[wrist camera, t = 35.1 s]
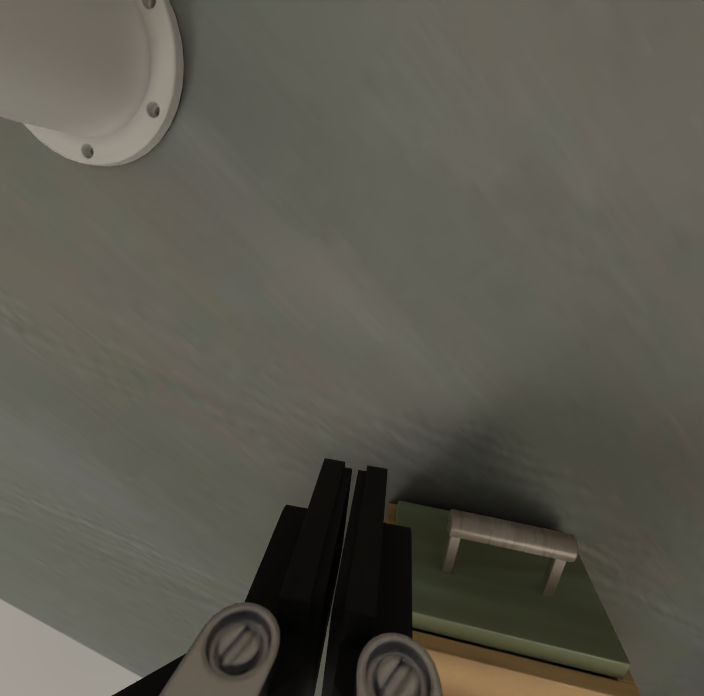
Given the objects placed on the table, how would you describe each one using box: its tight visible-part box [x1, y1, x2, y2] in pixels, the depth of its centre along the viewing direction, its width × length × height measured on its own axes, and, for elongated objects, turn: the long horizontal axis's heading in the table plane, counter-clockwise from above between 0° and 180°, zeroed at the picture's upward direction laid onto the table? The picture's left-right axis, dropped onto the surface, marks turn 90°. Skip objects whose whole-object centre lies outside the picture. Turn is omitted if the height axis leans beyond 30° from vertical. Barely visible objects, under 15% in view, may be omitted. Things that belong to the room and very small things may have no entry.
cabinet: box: [385, 503, 641, 696], centre depth 28 cm, size 17×14×11 cm
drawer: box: [395, 501, 630, 679], centre depth 27 cm, size 20×13×9 cm, turn 173°
